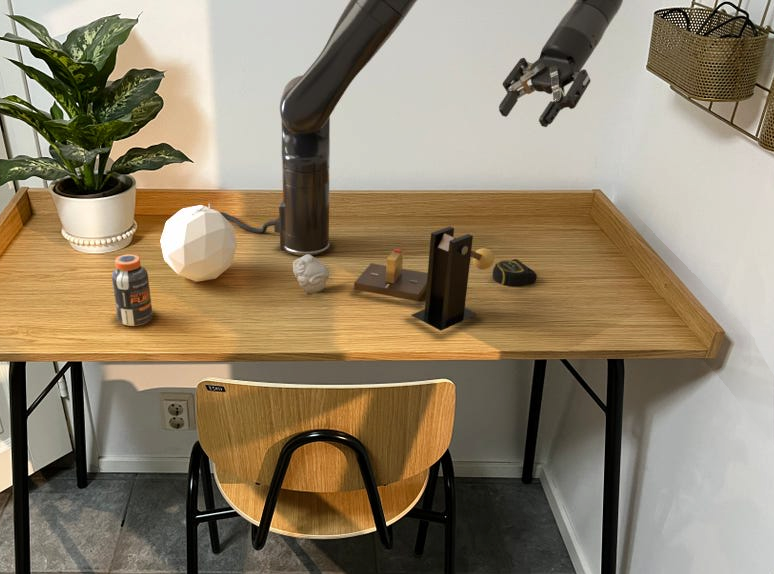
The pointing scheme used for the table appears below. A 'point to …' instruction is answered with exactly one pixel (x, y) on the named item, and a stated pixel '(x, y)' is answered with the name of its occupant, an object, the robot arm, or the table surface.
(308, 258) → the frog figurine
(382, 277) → the lock plate
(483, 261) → the latch lever
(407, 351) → the table surface
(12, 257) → the table surface
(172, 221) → the geodesic sphere
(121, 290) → the pill bottle
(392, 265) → the tan wooden block
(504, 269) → the tape measure
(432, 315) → the bracket
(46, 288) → the table surface
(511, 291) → the table surface
